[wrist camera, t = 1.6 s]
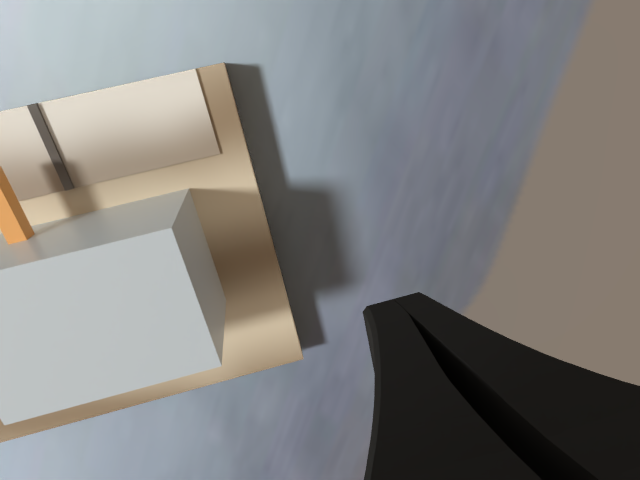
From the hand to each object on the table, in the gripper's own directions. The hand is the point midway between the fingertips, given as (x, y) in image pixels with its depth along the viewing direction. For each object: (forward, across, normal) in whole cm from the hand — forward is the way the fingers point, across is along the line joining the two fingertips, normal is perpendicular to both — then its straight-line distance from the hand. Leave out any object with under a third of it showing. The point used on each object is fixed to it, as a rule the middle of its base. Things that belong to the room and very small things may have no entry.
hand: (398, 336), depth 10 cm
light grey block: (+9, +11, -1) cm, 14 cm away
